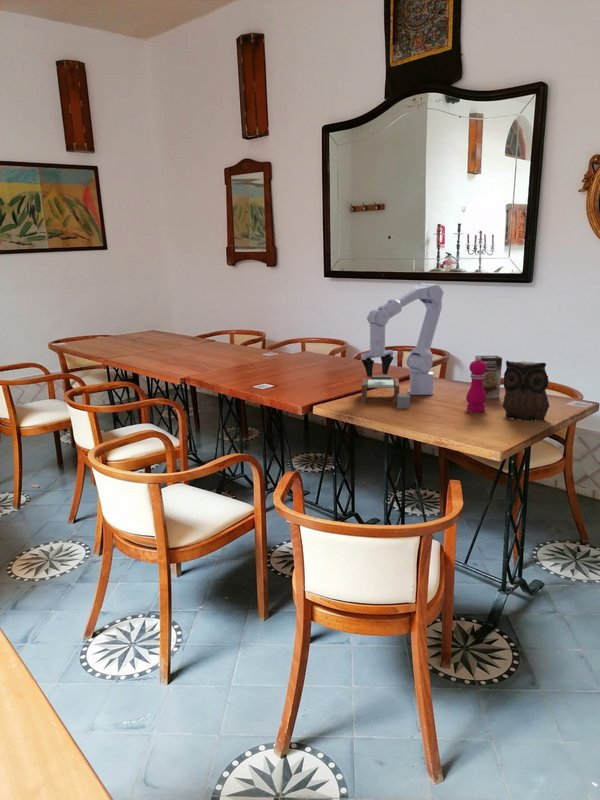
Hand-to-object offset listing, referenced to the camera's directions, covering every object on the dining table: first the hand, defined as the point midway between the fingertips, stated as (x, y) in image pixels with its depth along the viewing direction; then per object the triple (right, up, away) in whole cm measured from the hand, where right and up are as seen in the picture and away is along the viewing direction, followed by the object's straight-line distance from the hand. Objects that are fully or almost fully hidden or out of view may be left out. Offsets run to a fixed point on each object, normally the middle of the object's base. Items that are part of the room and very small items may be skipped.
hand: (377, 375), depth 225 cm
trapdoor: (+2, -3, +2) cm, 4 cm away
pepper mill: (+34, -14, -15) cm, 40 cm away
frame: (+2, -9, +3) cm, 10 cm away
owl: (+49, -16, -24) cm, 57 cm away
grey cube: (+9, -12, -9) cm, 17 cm away
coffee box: (+44, -8, +3) cm, 44 cm away
